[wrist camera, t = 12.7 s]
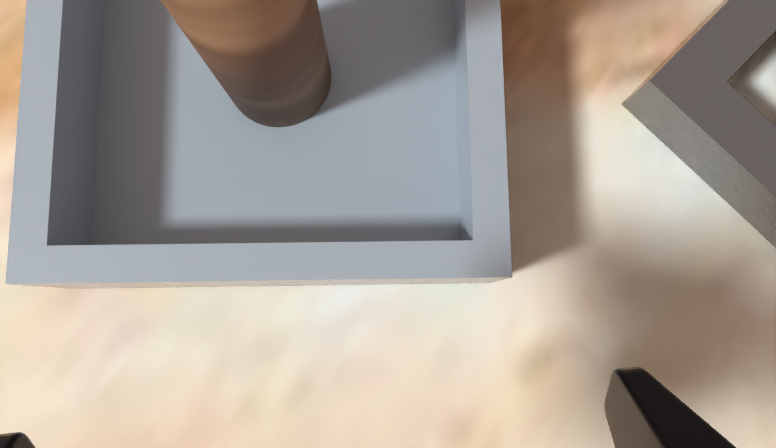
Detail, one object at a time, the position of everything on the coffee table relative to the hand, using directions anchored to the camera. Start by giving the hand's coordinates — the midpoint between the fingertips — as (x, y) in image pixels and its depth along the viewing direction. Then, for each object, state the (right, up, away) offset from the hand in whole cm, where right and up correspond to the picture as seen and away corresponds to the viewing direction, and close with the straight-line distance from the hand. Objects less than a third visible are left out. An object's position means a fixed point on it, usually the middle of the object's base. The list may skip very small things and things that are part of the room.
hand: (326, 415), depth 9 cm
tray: (-3, +9, +15) cm, 17 cm away
